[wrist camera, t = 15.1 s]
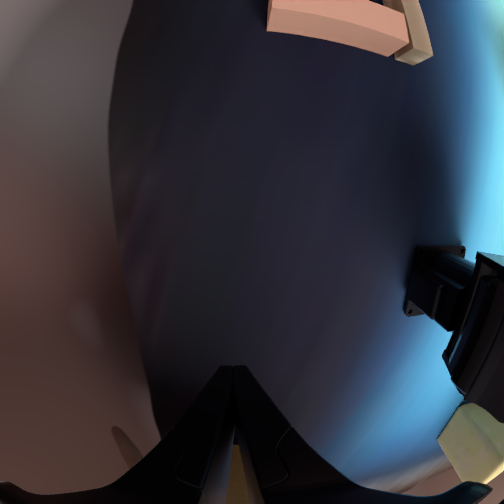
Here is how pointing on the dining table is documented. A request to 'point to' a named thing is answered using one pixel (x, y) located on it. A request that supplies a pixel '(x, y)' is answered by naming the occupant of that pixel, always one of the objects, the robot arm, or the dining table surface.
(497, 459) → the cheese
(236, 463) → the plant pot
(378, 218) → the dining table surface
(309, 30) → the t block
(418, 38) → the wooden l block
